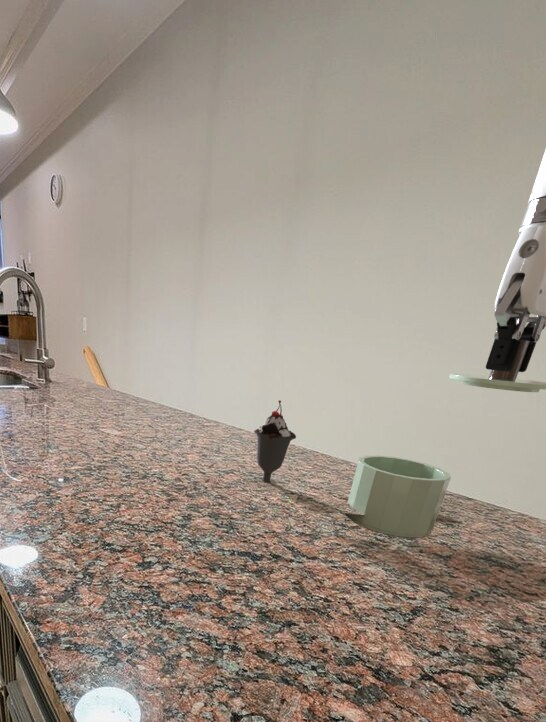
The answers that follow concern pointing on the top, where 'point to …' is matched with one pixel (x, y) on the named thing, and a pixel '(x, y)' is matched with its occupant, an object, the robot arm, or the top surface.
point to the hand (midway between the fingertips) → (505, 369)
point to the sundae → (272, 443)
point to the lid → (503, 377)
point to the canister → (397, 495)
